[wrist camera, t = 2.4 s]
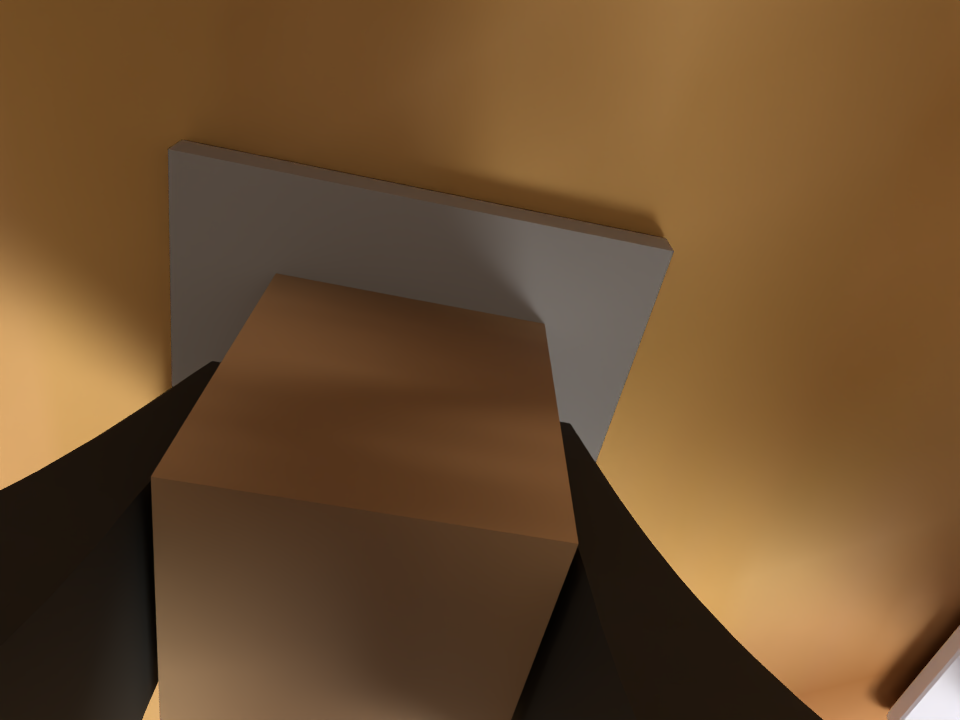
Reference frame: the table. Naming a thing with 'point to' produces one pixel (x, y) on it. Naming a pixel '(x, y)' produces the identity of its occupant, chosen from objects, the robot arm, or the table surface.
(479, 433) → the walnut block
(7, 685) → the robot arm
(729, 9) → the table surface
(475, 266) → the rubber pad
